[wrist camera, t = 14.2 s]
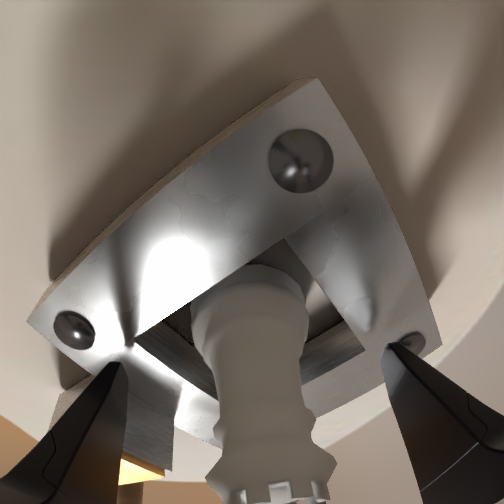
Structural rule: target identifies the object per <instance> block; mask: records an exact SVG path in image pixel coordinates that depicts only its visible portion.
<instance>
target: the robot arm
mask: <svg viewBox="0 0 504 504" xmlns="http://www.w3.org/2000/svg"><path fill="white" fill-rule="evenodd" d="M380 364H381V369H382V372H383V376H384V380H385V384H386V388H387V392H388V396H389V400H390V403H391V406H392V408H393V411H394V414H395V416H396V419H397V422H398V425H399V428H400V431H401V434H402V437H403V439H404V443H405V446H406V448H407V451H408V455H409V457H410V461H411V464H412V467H413V470H414V473H415V477H416V480H417V483H418V487H419V490H420V491H421V492H420V494H421V497H422V500H423V504H504V416H503V415H501V414H500V413H498V412H496V411H494V410H493V409H491V408H489V407H488V406H486V405H485V404H483V403H482V402H480V401H479V400H478V399H476V398H475V397H473V396H472V395H470V394H469V393H467V392H466V391H465V390H464V389H462V388H461V387H460V386H458V385H457V384H455V383H454V382H453V381H451V380H450V379H449V378H447V377H446V376H444V375H443V374H442V373H440V372H439V371H438V370H436V369H435V368H434V367H432V366H431V365H429V364H428V363H427V362H425V361H424V360H422V359H421V358H420V357H418V356H417V355H416V354H414V353H413V352H411V351H410V350H409V349H407V348H406V347H404V346H403V345H402V344H400V343H399V342H392V343H388V344H387V345H386V346H385V349H384V351H383V354H382V356H381V360H380ZM128 385H129V381H128V376H127V374H126V371H125V369H124V366H123V364H122V363H121V362H120V361H110V362H108V363H107V364H106V365H105V367H104V368H103V369H102V370H101V371H100V372H99V373H98V375H97V376H96V377H95V378H94V379H93V380H92V381H91V382H90V384H89V385H88V386H87V387H86V388H85V389H84V390H83V392H82V393H81V394H80V395H79V396H78V397H77V399H76V400H75V401H74V402H73V403H72V404H71V405H70V407H69V408H68V409H67V410H66V411H65V412H64V414H63V415H62V416H61V417H60V418H59V420H58V421H57V422H56V423H55V424H54V425H53V427H52V428H51V430H49V431H48V432H47V434H46V435H45V436H44V437H43V438H42V439H41V440H40V442H39V443H38V444H37V445H36V446H35V447H34V448H33V449H32V450H31V451H30V452H29V453H28V454H27V455H26V456H25V457H24V458H23V459H22V460H21V461H20V462H19V463H18V464H17V465H16V466H15V467H14V468H13V469H12V470H11V471H9V472H8V473H7V474H6V475H5V476H3V477H2V478H0V504H117V494H118V484H119V475H120V466H121V458H122V451H123V444H124V437H125V430H126V422H127V403H128Z"/></svg>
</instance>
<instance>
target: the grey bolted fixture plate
mask: <svg viewBox="0 0 504 504" xmlns="http://www.w3.org/2000/svg"><path fill="white" fill-rule="evenodd" d="M283 238H284V239H285V240H286V242H287V243H288V244H289V246H290V247H291V248H292V250H293V251H294V252H295V254H296V255H297V256H298V258H299V259H300V260H301V262H302V263H303V264H304V266H305V267H306V268H307V270H308V271H309V272H310V274H311V275H312V276H313V278H314V279H315V280H316V282H317V283H318V284H319V286H320V287H321V289H322V290H323V291H324V293H325V294H326V295H327V297H328V298H329V299H330V301H331V302H332V304H333V305H334V306H335V308H336V309H337V310H338V312H339V313H340V315H341V316H342V317H343V319H344V321H342V322H341V323H339V324H338V325H336V326H334V327H333V328H331V329H329V330H328V331H326V332H324V333H323V334H321V335H319V336H317V337H316V338H314V339H312V340H311V341H309V342H307V343H305V344H304V347H303V353H302V355H301V357H300V358H299V366H300V378H301V390H302V396H303V399H304V403H305V407H306V408H308V409H310V410H311V411H312V412H313V414H314V416H315V418H317V417H320V416H322V415H324V414H326V413H328V412H330V411H332V410H334V409H336V408H338V407H340V406H342V405H344V404H346V403H348V402H350V401H352V400H354V399H355V398H357V397H359V396H361V395H363V394H365V393H367V392H368V391H370V390H372V389H374V388H375V387H377V386H379V385H381V384H382V383H384V382H385V380H384V376H383V372H382V369H381V364H380V360H381V356H382V354H383V351H384V349H385V346H386V345H387V344H388V343H392V342H399V343H400V344H402V345H403V346H404V347H406V348H407V349H409V350H410V351H411V352H413V353H414V354H416V355H417V356H418V357H420V358H421V359H422V358H424V357H425V356H427V355H428V354H430V353H431V352H433V351H434V350H436V349H437V348H438V347H440V346H441V345H442V341H441V338H440V334H439V331H438V328H437V324H436V321H435V318H434V315H433V312H432V309H431V306H430V303H429V300H428V297H427V294H426V292H425V289H424V286H423V283H422V280H421V278H420V275H419V272H418V270H417V267H416V265H415V262H414V260H413V257H412V255H411V252H410V250H409V247H408V245H407V242H406V240H405V238H404V235H403V233H402V231H401V228H400V226H399V224H398V222H397V219H396V217H395V215H394V213H393V211H392V209H391V206H390V204H389V202H388V200H387V198H386V196H385V194H384V192H383V190H382V188H381V186H380V184H379V182H378V180H377V178H376V176H375V174H374V172H373V170H372V168H371V166H370V164H369V162H368V161H367V159H366V157H365V155H364V153H363V151H362V149H361V148H360V146H359V144H358V142H357V141H356V139H355V137H354V135H353V134H352V132H351V130H350V128H349V127H348V125H347V123H346V122H345V120H344V118H343V117H342V115H341V113H340V112H339V110H338V108H337V107H336V105H335V104H334V102H333V100H332V99H331V97H330V96H329V94H328V93H327V91H326V90H325V88H324V86H323V85H322V83H321V82H320V80H319V79H318V78H308V79H298V80H296V81H295V82H293V83H291V84H290V85H288V86H287V87H285V88H284V89H282V90H280V91H279V92H277V93H276V94H274V95H273V96H271V97H270V98H268V99H267V100H265V101H264V102H262V103H261V104H259V105H258V106H256V107H255V108H253V109H252V110H251V111H249V112H248V113H246V114H245V115H243V116H242V117H241V118H239V119H238V120H236V121H235V122H234V123H232V124H231V125H229V126H228V127H227V128H225V129H224V130H223V131H221V132H220V133H219V134H217V135H216V136H214V137H213V138H212V139H210V140H209V141H208V142H207V143H205V144H204V145H203V146H201V147H200V148H199V149H197V150H196V151H195V152H194V153H192V154H191V155H190V156H189V157H187V158H186V159H185V160H184V161H182V162H181V163H180V164H179V165H177V166H176V167H175V168H174V169H172V170H171V171H170V172H169V173H168V174H166V175H165V176H164V177H163V178H162V179H160V180H159V181H158V182H157V183H156V184H154V185H153V186H152V187H151V188H150V189H149V190H147V191H146V192H145V193H144V194H143V195H142V196H141V197H139V198H138V199H137V200H136V201H135V202H134V203H133V204H132V205H131V206H129V207H128V208H127V209H126V210H125V211H124V212H123V213H122V214H121V215H120V216H118V217H117V218H116V219H115V220H114V221H113V222H112V223H111V224H110V225H109V226H108V227H107V228H106V229H105V230H104V231H103V232H102V233H100V234H99V235H98V236H97V237H96V238H95V239H94V240H93V241H92V242H91V243H90V244H89V245H88V246H87V247H86V248H85V249H84V250H83V251H82V252H81V253H80V254H79V255H78V256H77V257H76V258H75V259H74V260H73V261H72V263H71V264H70V265H69V266H68V267H67V268H66V269H65V270H64V271H63V272H62V273H61V274H60V275H59V276H58V277H57V278H56V280H55V281H54V282H53V283H52V284H51V285H50V286H49V287H48V288H47V289H46V291H45V292H44V294H43V295H42V297H41V298H40V300H39V302H38V303H37V305H36V306H35V308H34V309H33V311H32V313H31V314H30V316H29V318H28V319H27V321H26V322H27V323H28V324H30V325H31V326H32V327H33V328H34V329H35V330H36V331H37V332H39V333H40V334H41V335H42V336H43V337H44V338H46V339H47V340H48V341H49V342H50V343H52V344H53V345H54V346H55V347H57V348H58V349H59V350H60V351H61V352H63V353H64V354H65V355H67V356H68V357H69V358H70V359H72V360H73V361H74V362H76V363H77V364H78V365H80V366H81V367H82V368H84V369H85V370H86V371H88V372H89V373H91V374H92V375H91V376H89V377H88V378H86V379H84V380H83V381H81V382H79V383H78V384H76V385H75V386H73V387H71V388H70V389H68V390H66V391H65V392H63V393H62V394H60V395H59V398H58V401H57V404H56V407H55V410H54V414H53V417H52V420H51V423H50V426H49V430H51V428H52V427H53V425H54V424H55V423H56V422H57V421H58V420H59V418H60V417H61V416H62V415H63V414H64V412H65V411H66V410H67V409H68V408H69V407H70V405H71V404H72V403H73V402H74V401H75V400H76V399H77V397H78V396H79V395H80V394H81V393H82V392H83V390H84V389H85V388H86V387H87V386H88V385H89V384H90V382H91V381H92V380H93V379H94V378H95V377H96V376H97V375H98V373H99V372H100V371H101V370H102V369H103V368H104V367H105V365H106V364H107V363H108V362H110V361H120V362H121V363H122V364H123V366H124V369H125V371H126V374H127V376H128V381H129V385H128V403H127V422H126V430H125V437H124V444H123V451H122V458H121V466H120V475H119V484H118V485H123V484H129V483H136V482H142V481H147V480H153V479H158V478H163V477H165V473H168V472H172V457H173V436H174V426H176V427H178V428H180V429H181V430H183V431H185V432H187V433H189V434H191V435H193V436H195V437H197V438H199V439H201V440H203V441H205V442H208V443H210V444H212V445H214V446H216V447H218V448H220V449H223V446H222V444H221V443H220V442H219V441H218V440H217V439H216V438H215V437H214V433H213V427H214V426H215V424H216V423H217V421H218V420H219V418H220V409H219V399H218V394H217V389H216V384H215V379H214V375H213V372H212V370H211V369H210V368H209V366H208V365H207V364H206V363H205V361H204V358H203V356H202V355H201V354H200V353H199V351H198V350H197V349H195V348H194V347H193V346H192V345H190V344H189V343H188V342H187V341H185V340H184V339H183V338H182V337H180V336H179V335H178V334H177V333H176V332H174V331H173V330H172V329H171V328H170V327H168V326H167V325H166V324H165V323H164V322H162V321H161V320H162V319H164V318H165V317H167V316H168V315H170V314H171V313H173V312H174V311H176V310H177V309H179V308H180V307H182V306H183V305H185V304H186V303H188V302H189V301H191V300H192V299H194V298H195V297H197V296H198V295H200V294H201V293H203V292H204V291H206V290H207V289H209V288H210V287H212V286H213V285H215V284H216V283H218V282H219V281H221V280H222V279H224V278H225V277H227V276H228V275H230V274H231V273H233V272H234V271H236V270H237V269H239V268H240V267H242V266H243V265H245V264H246V263H248V262H249V261H251V260H252V259H254V258H255V257H257V256H258V255H259V254H261V253H262V252H264V251H265V250H267V249H268V248H270V247H271V246H273V245H274V244H276V243H277V242H279V241H280V240H282V239H283ZM49 430H48V431H49Z"/></svg>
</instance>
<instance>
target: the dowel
mask: <svg viewBox="0 0 504 504" xmlns="http://www.w3.org/2000/svg"><path fill="white" fill-rule="evenodd" d="M143 482H144V481H142V482H136V483H129V484H123V485H118V494H117V504H142V497H143Z"/></svg>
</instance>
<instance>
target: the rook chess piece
mask: <svg viewBox="0 0 504 504" xmlns="http://www.w3.org/2000/svg"><path fill="white" fill-rule="evenodd" d="M305 304H306V301H305V298H304V295H303V293H302V290H301V288H300V285H299V284H298V283H297V282H296V281H294V280H293V279H292V278H291V277H290V276H289V275H287V274H286V273H285V272H284V271H281V270H278V269H274V268H271V267H268V266H265V265H262V264H258V265H243V266H242V267H240V268H239V269H237V270H236V271H234V272H233V273H231V274H230V275H228V276H227V277H225V278H224V279H222V280H221V281H219V282H218V283H216V284H215V285H213V286H212V287H210V288H209V289H207V290H206V291H204V292H203V293H201V294H200V295H198V296H197V297H195V298H194V299H193V301H192V303H191V306H190V312H191V319H192V320H191V323H190V324H191V331H192V337H193V342H194V345H195V347H196V349H197V350H198V351H199V353H200V354H201V355H202V356H203V358H204V361H205V363H206V364H207V365H208V366H209V368H210V369H211V370H212V372H213V375H214V379H215V384H216V389H217V394H218V399H219V409H220V418H219V420H218V421H217V423H216V424H215V426H214V427H213V433H214V437H215V438H216V439H217V440H218V441H219V442H220V443H221V444H222V446H223V452H222V457H221V458H220V459H219V461H218V462H217V463H216V464H215V466H214V467H213V468H212V469H211V471H210V472H209V473H208V474H207V475H206V477H205V479H206V481H207V484H208V485H209V486H210V488H212V490H214V492H215V493H216V494H217V495H218V496H219V497H220V498H221V499H222V503H223V504H298V500H303V499H305V500H306V504H326V500H330V496H329V492H328V488H327V482H328V480H329V479H330V477H331V475H332V473H333V471H334V469H335V467H336V465H337V462H336V460H335V459H334V457H333V456H332V455H330V454H329V453H327V452H326V451H325V450H323V449H322V448H320V447H319V446H317V445H316V444H314V443H313V441H312V439H311V431H312V429H313V427H314V424H315V421H316V418H315V416H314V414H313V412H312V411H311V410H310V409H308V408H306V407H305V403H304V399H303V396H302V390H301V378H300V366H299V358H300V357H301V355H302V353H303V347H304V343H305V342H306V340H307V334H308V328H309V314H308V312H307V309H306V307H305Z"/></svg>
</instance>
